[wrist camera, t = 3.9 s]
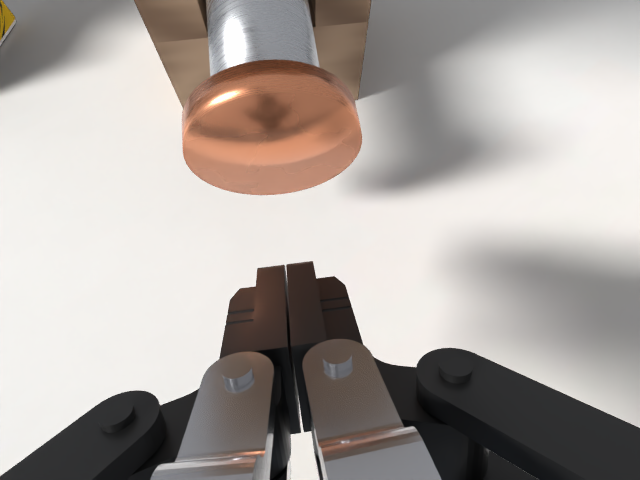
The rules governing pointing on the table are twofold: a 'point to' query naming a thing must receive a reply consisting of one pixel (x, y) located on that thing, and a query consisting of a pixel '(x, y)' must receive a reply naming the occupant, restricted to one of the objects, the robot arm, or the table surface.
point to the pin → (267, 103)
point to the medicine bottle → (5, 21)
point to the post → (193, 49)
